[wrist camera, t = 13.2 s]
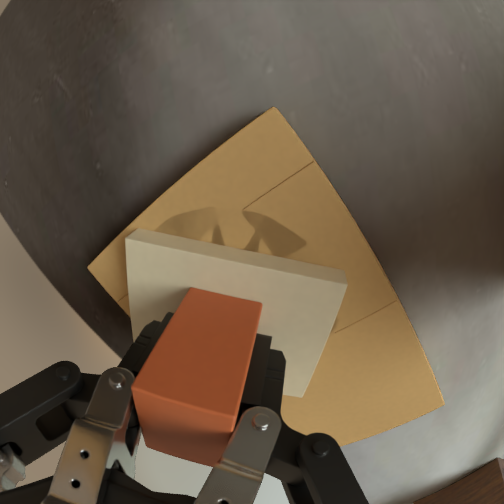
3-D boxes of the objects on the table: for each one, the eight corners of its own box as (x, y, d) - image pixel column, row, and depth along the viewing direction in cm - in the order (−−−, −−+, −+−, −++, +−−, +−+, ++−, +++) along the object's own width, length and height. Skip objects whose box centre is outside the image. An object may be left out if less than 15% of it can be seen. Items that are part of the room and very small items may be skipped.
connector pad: (153, 329, 17) (88, 435, 10) (151, 218, 14) (35, 313, 7) (303, 364, 16) (294, 493, 9) (341, 256, 13) (370, 403, 6)
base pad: (100, 256, 16) (85, 268, 14) (276, 107, 11) (273, 105, 10) (294, 444, 21) (292, 459, 19) (439, 389, 16) (445, 404, 15)
